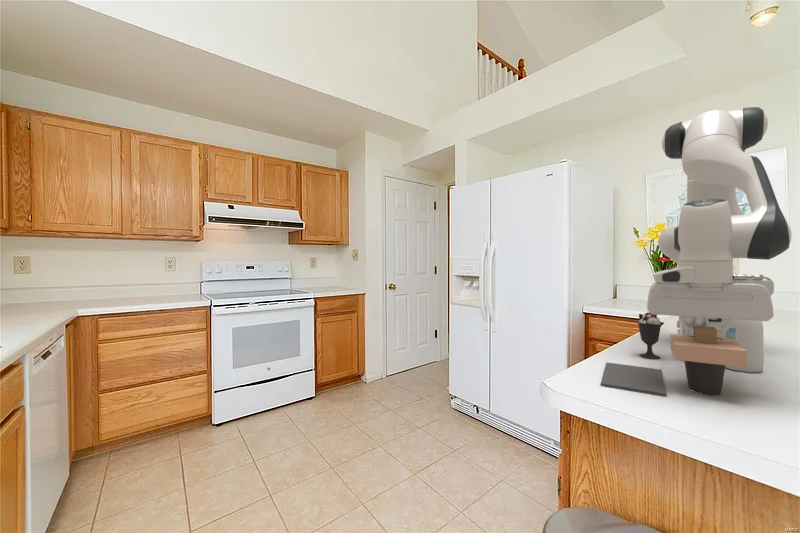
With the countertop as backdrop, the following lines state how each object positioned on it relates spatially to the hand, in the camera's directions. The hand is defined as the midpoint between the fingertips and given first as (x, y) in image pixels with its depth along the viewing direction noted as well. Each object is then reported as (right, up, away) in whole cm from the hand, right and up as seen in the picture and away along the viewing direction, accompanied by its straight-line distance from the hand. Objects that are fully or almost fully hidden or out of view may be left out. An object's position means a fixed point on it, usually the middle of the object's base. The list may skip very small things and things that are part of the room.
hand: (704, 337), depth 74 cm
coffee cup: (0, -12, 0) cm, 12 cm away
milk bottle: (+22, -11, +13) cm, 28 cm away
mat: (-10, -12, +9) cm, 17 cm away
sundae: (+7, -11, +25) cm, 28 cm away
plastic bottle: (+15, -11, +20) cm, 28 cm away
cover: (0, -2, 0) cm, 2 cm away
